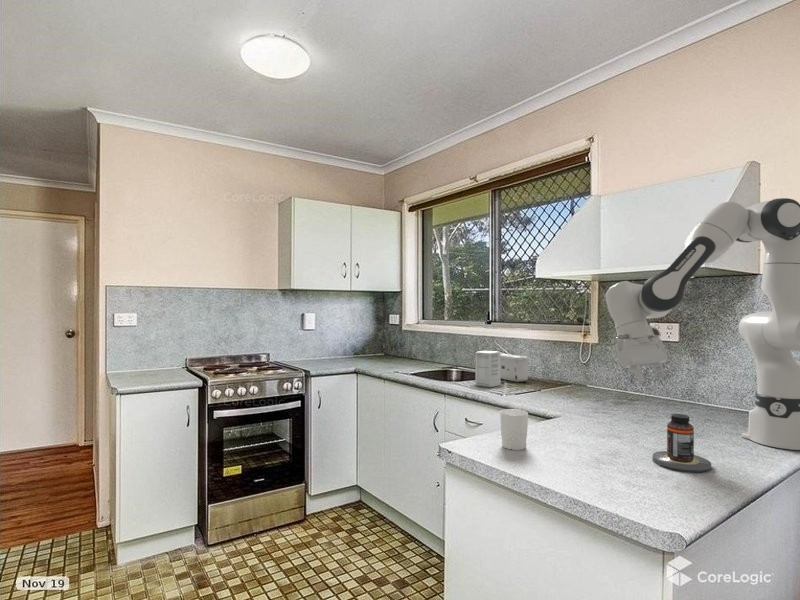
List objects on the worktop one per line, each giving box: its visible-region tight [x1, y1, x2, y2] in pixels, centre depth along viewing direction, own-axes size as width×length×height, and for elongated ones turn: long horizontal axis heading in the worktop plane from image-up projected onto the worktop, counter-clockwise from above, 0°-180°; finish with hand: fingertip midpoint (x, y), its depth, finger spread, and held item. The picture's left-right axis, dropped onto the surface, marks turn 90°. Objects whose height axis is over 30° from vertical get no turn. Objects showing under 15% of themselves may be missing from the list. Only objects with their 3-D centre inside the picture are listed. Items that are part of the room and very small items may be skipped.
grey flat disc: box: [652, 450, 712, 474], centre depth 121 cm, size 13×13×1 cm
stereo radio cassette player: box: [493, 340, 529, 383], centre depth 253 cm, size 21×8×20 cm, turn 30°
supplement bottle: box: [666, 413, 695, 462], centre depth 121 cm, size 6×6×11 cm
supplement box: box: [474, 350, 502, 388], centre depth 235 cm, size 10×9×17 cm
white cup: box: [499, 408, 529, 451], centre depth 136 cm, size 8×8×10 cm
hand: (651, 380), depth 135 cm, fingers open, 8 cm apart
